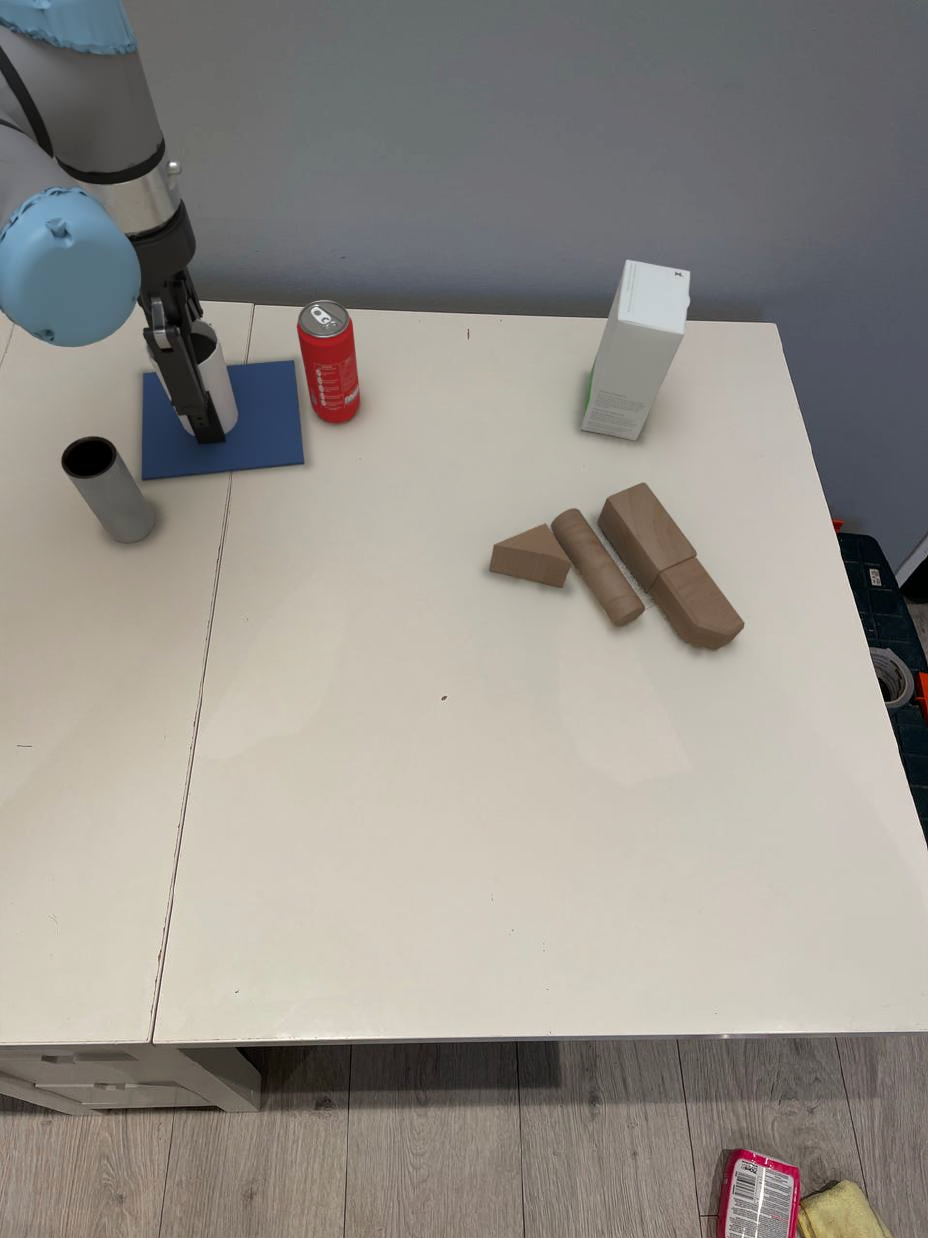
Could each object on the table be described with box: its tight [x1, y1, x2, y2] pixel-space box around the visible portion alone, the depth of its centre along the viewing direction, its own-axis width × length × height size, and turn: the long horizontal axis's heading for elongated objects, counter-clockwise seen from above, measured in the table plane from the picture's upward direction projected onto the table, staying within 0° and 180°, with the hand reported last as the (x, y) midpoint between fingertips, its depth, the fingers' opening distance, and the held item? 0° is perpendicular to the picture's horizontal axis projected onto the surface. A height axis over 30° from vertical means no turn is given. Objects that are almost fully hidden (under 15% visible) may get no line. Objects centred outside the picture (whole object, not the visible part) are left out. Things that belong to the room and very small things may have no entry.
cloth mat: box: [141, 359, 305, 481], centre depth 77 cm, size 16×14×1 cm
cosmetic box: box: [580, 259, 691, 441], centre depth 74 cm, size 8×7×16 cm
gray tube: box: [60, 435, 156, 544], centre depth 67 cm, size 4×4×10 cm
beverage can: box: [296, 299, 361, 425], centre depth 74 cm, size 5×5×12 cm
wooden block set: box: [488, 482, 746, 651], centre depth 68 cm, size 17×6×18 cm
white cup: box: [144, 319, 238, 436], centre depth 72 cm, size 7×7×10 cm
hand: (210, 414), depth 77 cm, fingers open, 6 cm apart
